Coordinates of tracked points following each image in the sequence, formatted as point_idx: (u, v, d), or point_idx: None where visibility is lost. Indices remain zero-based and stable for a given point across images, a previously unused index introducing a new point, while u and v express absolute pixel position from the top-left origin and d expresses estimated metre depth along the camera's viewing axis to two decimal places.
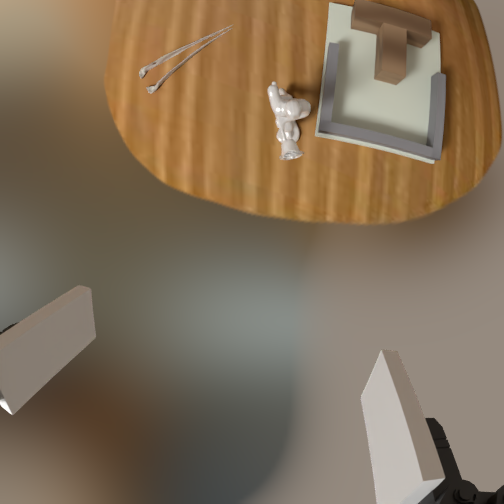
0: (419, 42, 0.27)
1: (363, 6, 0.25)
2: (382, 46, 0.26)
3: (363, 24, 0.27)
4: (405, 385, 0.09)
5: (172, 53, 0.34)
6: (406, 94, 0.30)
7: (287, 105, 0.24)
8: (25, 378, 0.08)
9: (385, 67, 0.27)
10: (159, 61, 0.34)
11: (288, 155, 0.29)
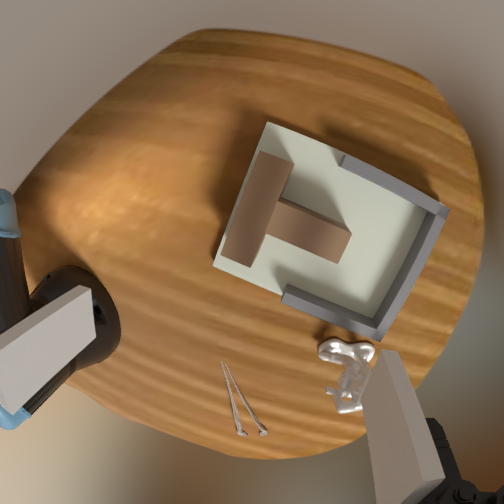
0: (290, 172, 0.27)
1: (234, 250, 0.27)
2: None
3: (259, 248, 0.29)
4: (405, 385, 0.09)
5: (234, 412, 0.38)
6: (360, 215, 0.28)
7: None
8: (25, 378, 0.08)
9: (335, 258, 0.26)
10: (237, 422, 0.39)
11: None
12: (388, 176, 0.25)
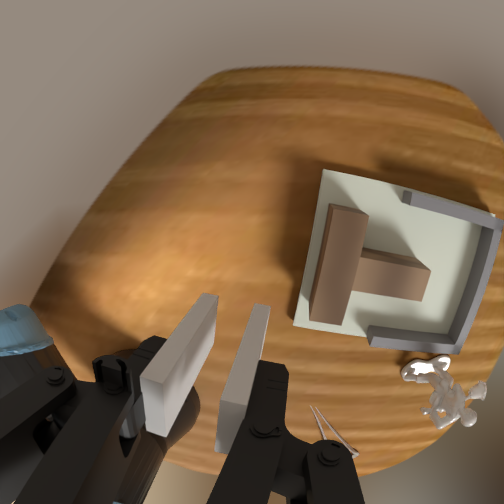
0: None
1: (323, 313, 0.26)
2: None
3: None
4: (258, 330, 0.12)
5: None
6: (427, 244, 0.26)
7: None
8: (178, 395, 0.10)
9: (419, 296, 0.24)
10: None
11: (483, 395, 0.23)
12: (451, 205, 0.23)
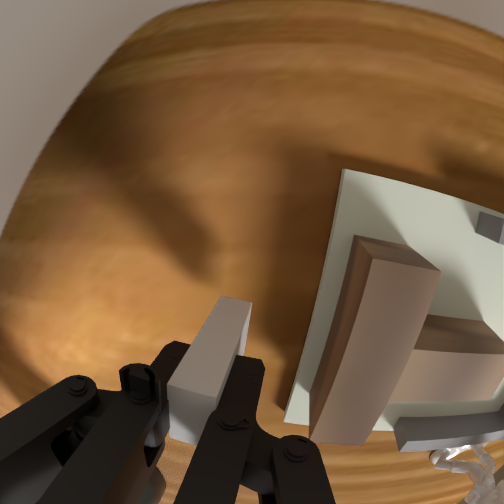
0: None
1: (334, 432, 0.13)
2: None
3: None
4: (236, 325, 0.12)
5: None
6: (501, 300, 0.13)
7: None
8: None
9: (489, 393, 0.11)
10: None
11: None
12: None
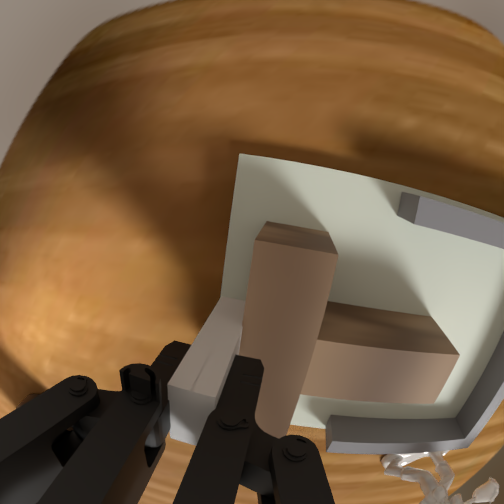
0: None
1: None
2: None
3: None
4: (236, 325, 0.12)
5: None
6: (441, 292, 0.14)
7: None
8: None
9: (430, 397, 0.11)
10: None
11: None
12: (493, 223, 0.10)
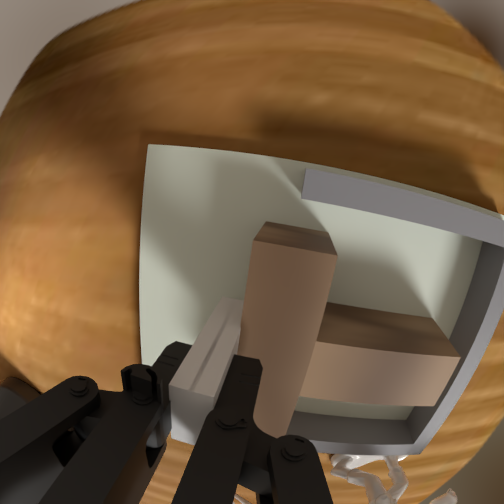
0: None
1: None
2: None
3: None
4: (234, 325, 0.12)
5: None
6: (364, 278, 0.14)
7: None
8: None
9: (431, 399, 0.11)
10: None
11: None
12: (410, 195, 0.11)
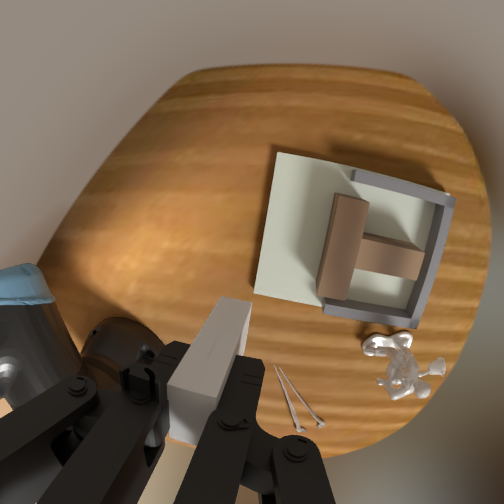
0: None
1: (329, 288, 0.29)
2: None
3: None
4: (236, 325, 0.12)
5: (291, 410, 0.40)
6: (377, 220, 0.30)
7: None
8: None
9: (414, 276, 0.27)
10: (295, 419, 0.40)
11: None
12: (396, 181, 0.27)
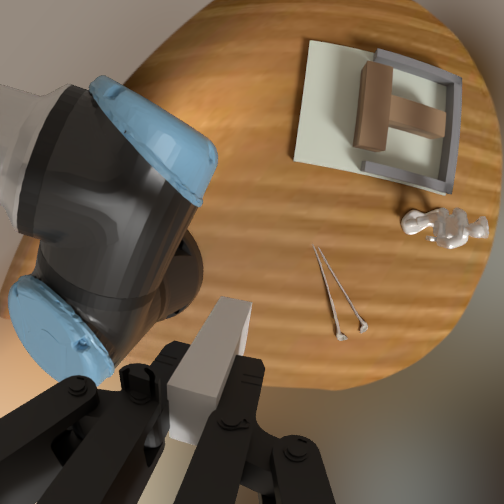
0: None
1: (369, 137, 0.28)
2: (417, 128, 0.27)
3: None
4: (236, 325, 0.12)
5: (332, 306, 0.39)
6: (400, 95, 0.30)
7: (477, 236, 0.23)
8: None
9: (441, 132, 0.26)
10: (336, 319, 0.39)
11: None
12: (411, 59, 0.26)
